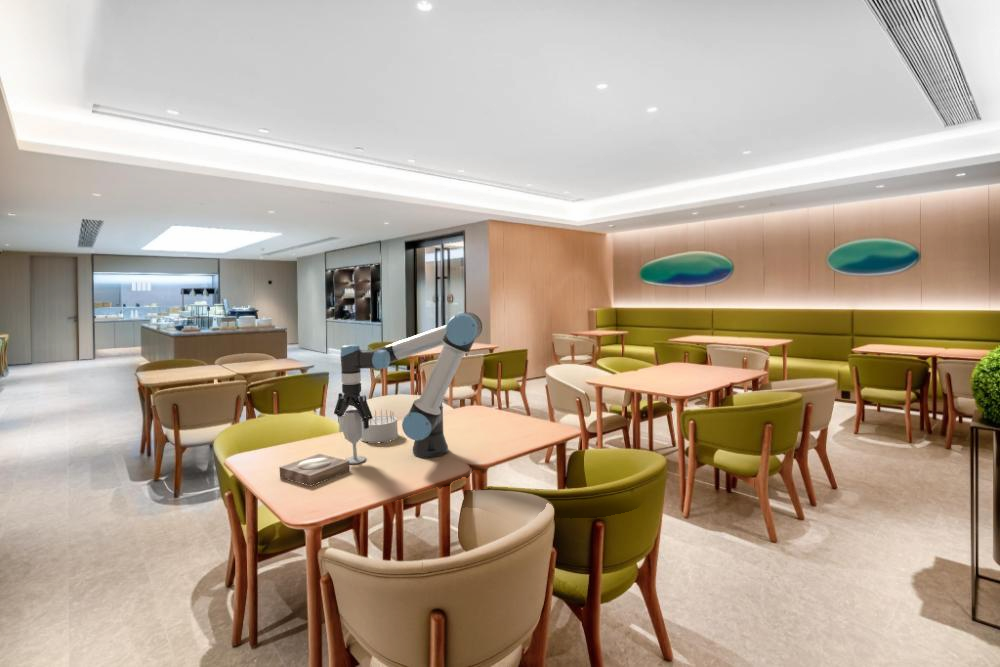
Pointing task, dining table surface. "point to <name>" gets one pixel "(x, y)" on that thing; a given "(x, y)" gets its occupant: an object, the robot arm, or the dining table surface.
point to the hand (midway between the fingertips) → (353, 433)
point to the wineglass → (353, 433)
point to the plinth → (314, 469)
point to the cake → (381, 429)
